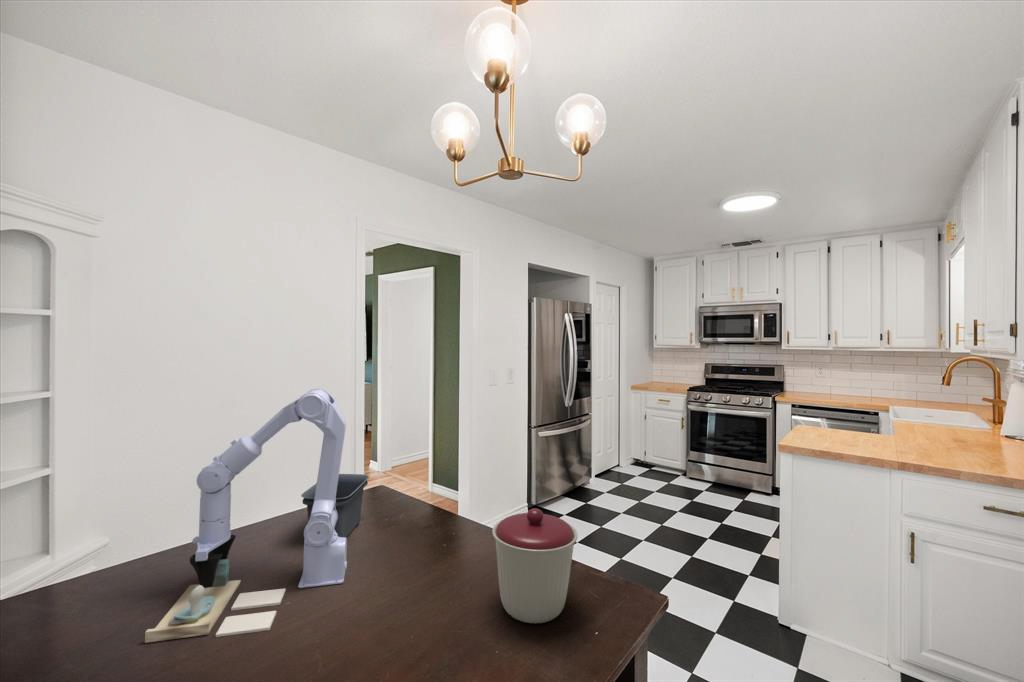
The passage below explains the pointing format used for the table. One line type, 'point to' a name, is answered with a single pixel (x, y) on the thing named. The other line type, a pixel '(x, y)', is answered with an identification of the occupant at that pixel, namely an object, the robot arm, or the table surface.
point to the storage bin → (343, 501)
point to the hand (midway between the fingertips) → (212, 578)
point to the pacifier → (194, 607)
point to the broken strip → (251, 621)
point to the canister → (534, 564)
